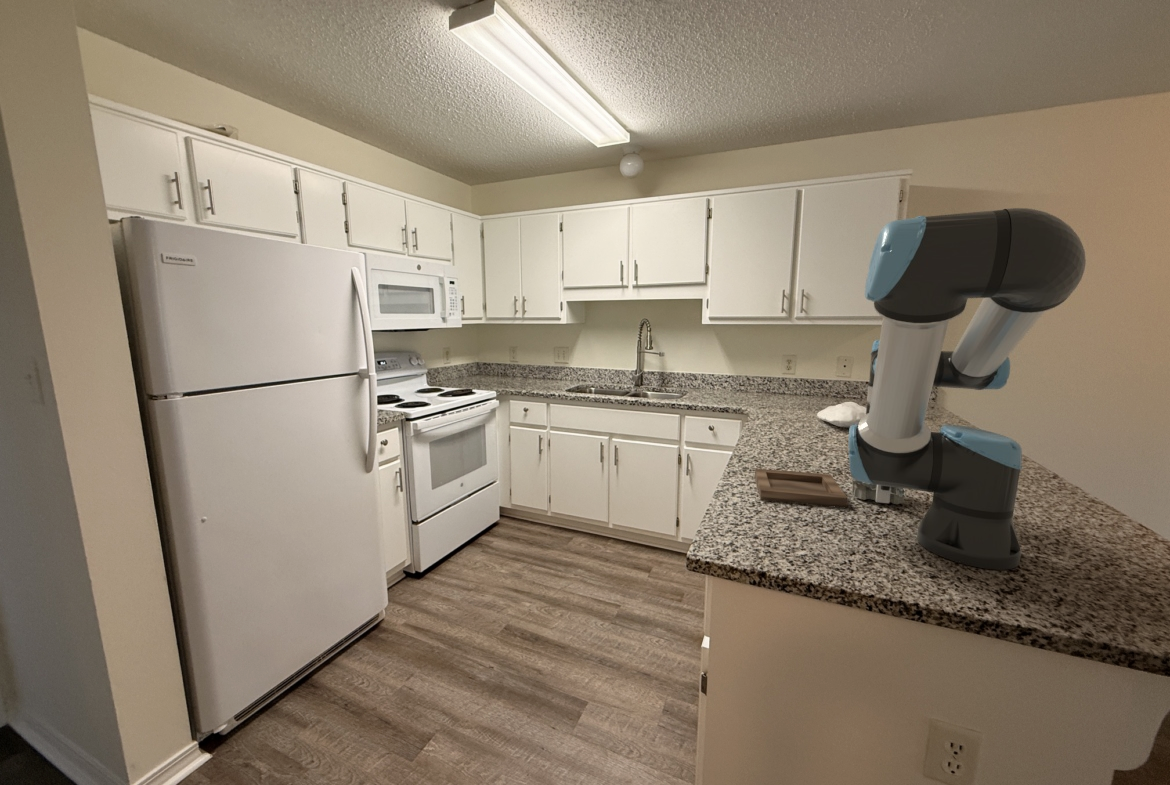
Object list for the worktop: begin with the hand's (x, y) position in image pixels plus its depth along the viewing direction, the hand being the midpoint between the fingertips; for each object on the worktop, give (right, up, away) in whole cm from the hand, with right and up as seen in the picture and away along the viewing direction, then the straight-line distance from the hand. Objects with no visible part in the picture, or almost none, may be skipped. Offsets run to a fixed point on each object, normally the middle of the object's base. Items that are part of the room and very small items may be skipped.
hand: (876, 495), depth 111 cm
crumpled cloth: (+38, +12, +78) cm, 88 cm away
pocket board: (-17, 0, +5) cm, 18 cm away
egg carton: (0, -1, 0) cm, 1 cm away
